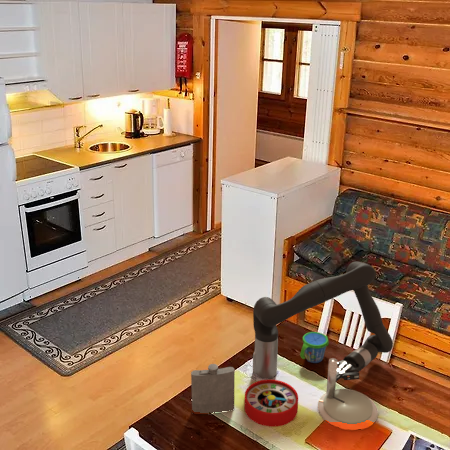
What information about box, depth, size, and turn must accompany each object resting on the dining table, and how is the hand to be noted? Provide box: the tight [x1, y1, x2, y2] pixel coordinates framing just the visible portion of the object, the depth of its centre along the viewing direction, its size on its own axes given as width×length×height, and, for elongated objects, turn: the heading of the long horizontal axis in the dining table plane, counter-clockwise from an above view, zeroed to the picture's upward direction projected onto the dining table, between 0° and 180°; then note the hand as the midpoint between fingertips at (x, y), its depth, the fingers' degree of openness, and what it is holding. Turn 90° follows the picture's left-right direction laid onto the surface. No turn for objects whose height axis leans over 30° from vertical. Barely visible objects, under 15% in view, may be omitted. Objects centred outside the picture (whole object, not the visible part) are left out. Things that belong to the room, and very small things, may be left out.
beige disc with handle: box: [323, 357, 373, 424], centre depth 210 cm, size 18×18×17 cm
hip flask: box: [190, 363, 236, 413], centre depth 210 cm, size 16×4×20 cm, turn 99°
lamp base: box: [317, 388, 379, 423], centre depth 214 cm, size 22×22×1 cm
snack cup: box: [299, 331, 330, 364], centre depth 243 cm, size 16×10×10 cm
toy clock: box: [243, 378, 299, 428], centre depth 214 cm, size 20×6×20 cm
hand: (332, 379), depth 217 cm, fingers closed
